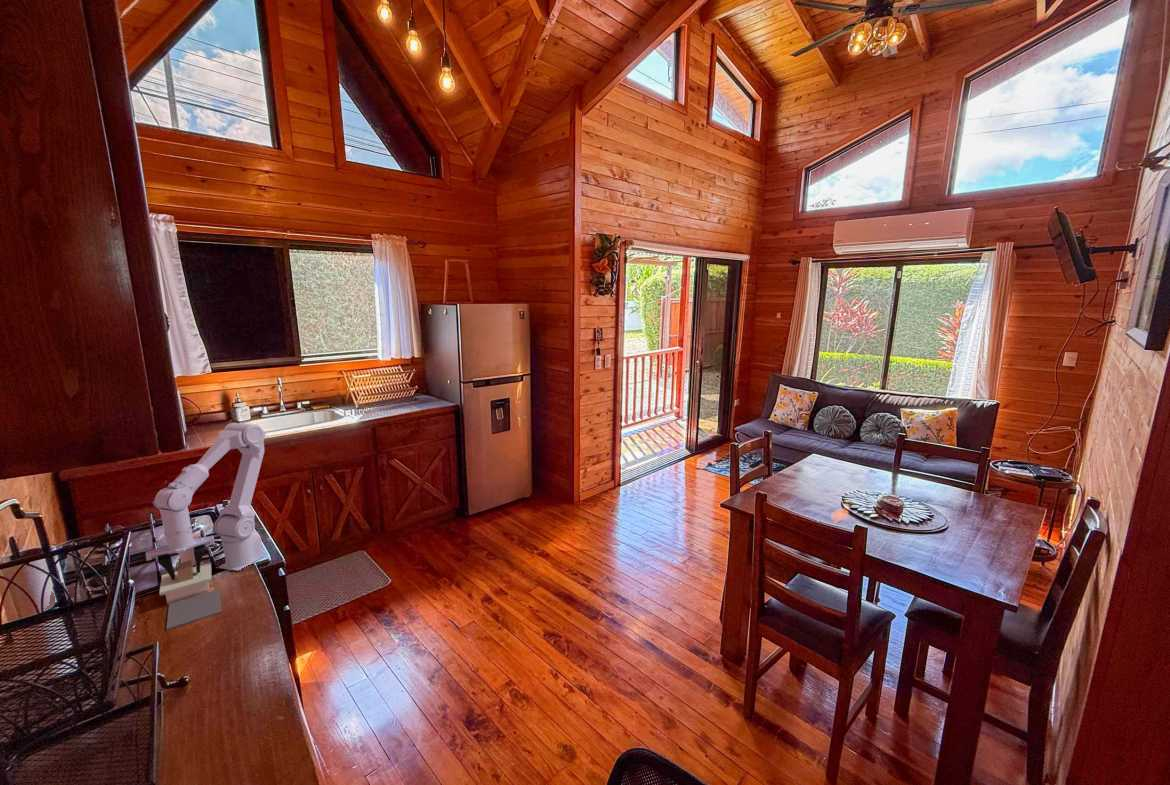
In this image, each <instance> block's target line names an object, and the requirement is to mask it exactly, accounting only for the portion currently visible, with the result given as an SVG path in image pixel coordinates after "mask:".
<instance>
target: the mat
mask: <svg viewBox="0 0 1170 785" xmlns="http://www.w3.org/2000/svg"><path fill="white" fill-rule="evenodd" d="M167 610H168V611H167V619H166V620H167V621H166V631H169V630H172V629H175V628H178V627H182V626H185V625H188V624H192V623H193V622H197V621H200V620H203V619H207V618H209V617H212V616H215V615H218V614H221V613H222V598H221V588H218V589H215V590H212V591H209V592H207V593H204V594H200V595H197V596H194V597H190V598H187V599H184V600H180V601H177V602H173V603H170V604H168V609H167Z"/></svg>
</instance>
